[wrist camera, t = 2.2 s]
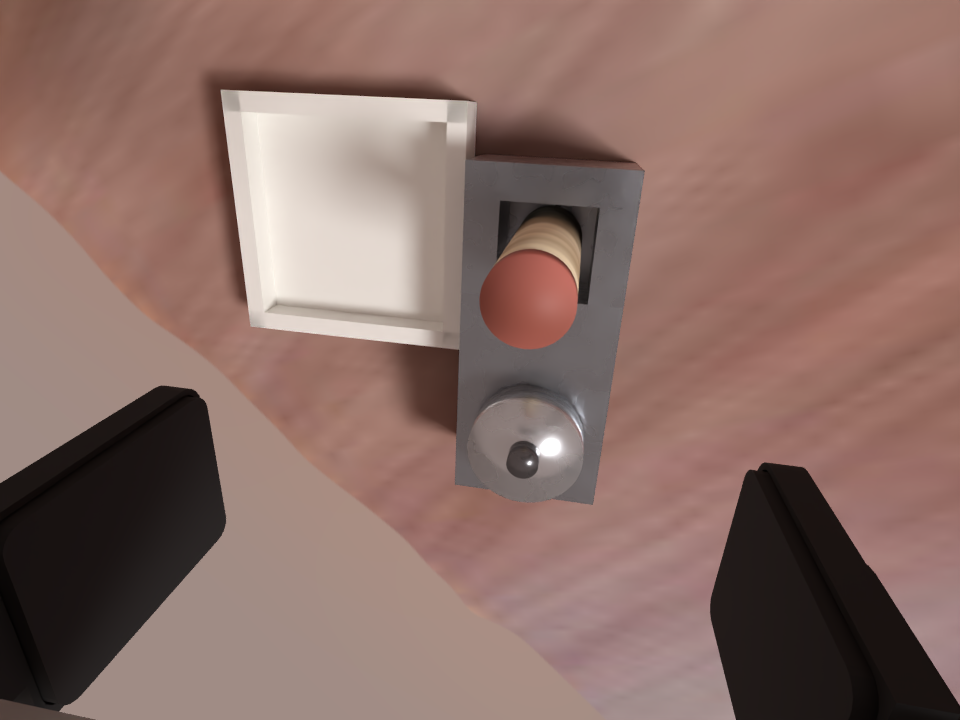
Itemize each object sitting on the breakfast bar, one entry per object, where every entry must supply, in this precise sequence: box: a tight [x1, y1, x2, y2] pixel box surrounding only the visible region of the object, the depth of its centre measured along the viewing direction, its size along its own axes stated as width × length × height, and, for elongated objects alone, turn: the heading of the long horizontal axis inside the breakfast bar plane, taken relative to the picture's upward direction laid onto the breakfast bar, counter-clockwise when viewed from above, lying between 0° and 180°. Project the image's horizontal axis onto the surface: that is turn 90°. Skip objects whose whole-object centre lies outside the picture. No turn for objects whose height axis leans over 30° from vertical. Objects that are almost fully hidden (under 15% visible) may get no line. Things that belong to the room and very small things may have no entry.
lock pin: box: [479, 205, 582, 349], centre depth 25 cm, size 3×3×12 cm
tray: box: [221, 90, 477, 350], centre depth 32 cm, size 13×13×2 cm
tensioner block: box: [455, 154, 645, 505], centre depth 30 cm, size 18×8×8 cm, turn 177°
